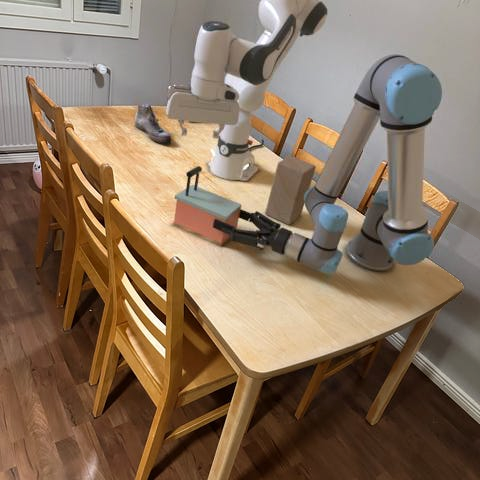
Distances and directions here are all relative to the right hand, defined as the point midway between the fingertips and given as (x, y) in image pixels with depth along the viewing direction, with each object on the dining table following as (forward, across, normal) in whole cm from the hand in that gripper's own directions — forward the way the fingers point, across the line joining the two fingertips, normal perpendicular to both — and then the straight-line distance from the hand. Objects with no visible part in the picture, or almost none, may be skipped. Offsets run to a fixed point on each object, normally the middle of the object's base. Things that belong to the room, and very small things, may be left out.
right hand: (222, 216), depth 135 cm
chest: (+5, 0, -7) cm, 9 cm away
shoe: (+62, +52, -7) cm, 82 cm away
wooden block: (-11, +28, -7) cm, 31 cm away
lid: (+6, 0, +2) cm, 6 cm away
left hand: (+12, 0, +22) cm, 25 cm away
